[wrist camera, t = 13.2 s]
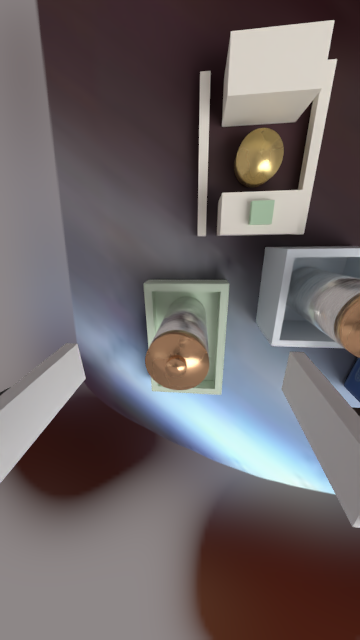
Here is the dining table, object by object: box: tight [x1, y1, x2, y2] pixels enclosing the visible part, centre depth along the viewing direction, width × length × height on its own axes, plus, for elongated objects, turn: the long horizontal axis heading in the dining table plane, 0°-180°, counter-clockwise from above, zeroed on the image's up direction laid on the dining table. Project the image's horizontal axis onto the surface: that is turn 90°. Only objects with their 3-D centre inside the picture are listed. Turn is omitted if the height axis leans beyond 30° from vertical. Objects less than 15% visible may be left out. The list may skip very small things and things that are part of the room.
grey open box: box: [256, 246, 360, 348], centre depth 19 cm, size 8×8×6 cm
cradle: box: [198, 20, 337, 236], centre depth 16 cm, size 12×10×5 cm
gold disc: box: [234, 128, 284, 188], centre depth 17 cm, size 4×4×2 cm
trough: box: [143, 280, 229, 395], centre depth 24 cm, size 14×9×2 cm, turn 1°
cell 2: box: [286, 267, 360, 358], centre depth 16 cm, size 4×4×11 cm
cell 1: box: [145, 296, 209, 390], centre depth 18 cm, size 4×4×11 cm
